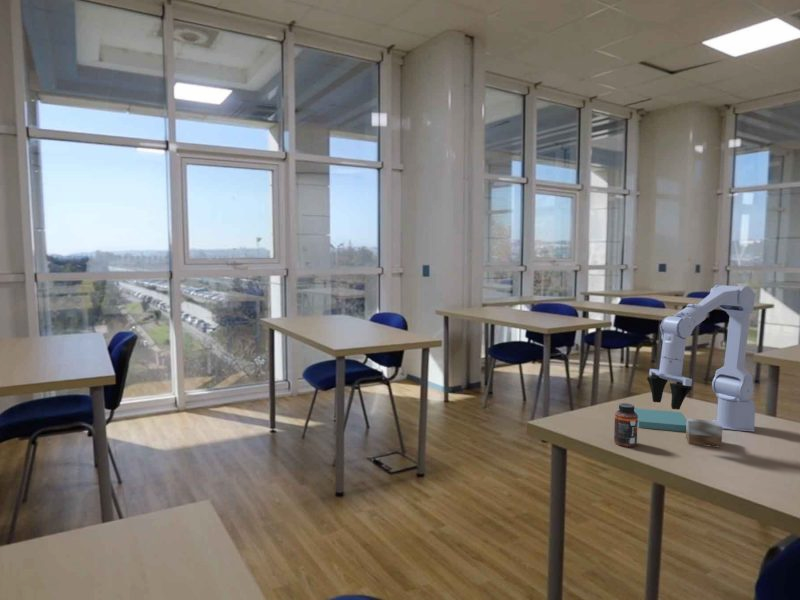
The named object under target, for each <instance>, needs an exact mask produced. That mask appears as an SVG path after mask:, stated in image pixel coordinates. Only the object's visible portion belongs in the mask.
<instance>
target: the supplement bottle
mask: <svg viewBox="0 0 800 600" xmlns="http://www.w3.org/2000/svg"><path fill="white" fill-rule="evenodd" d="M618 409H619V410H617V411H615V412H614V432H613V433H614V435H613V439H614V443H615V444H617V445H618V446H620V447H627V448H633V447H636V446H637V444H638V415H637V414H636V413H635V411H634V410H635V405H634V404H632V403H627V402H625V403H624V402H623V403H619V404H618Z"/></svg>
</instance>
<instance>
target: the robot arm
mask: <svg viewBox="0 0 800 600" xmlns="http://www.w3.org/2000/svg"><path fill="white" fill-rule="evenodd" d="M755 299H756V293H755V292H754V290H753V289H752V287H751V286H748V285H746V286H745V285H744V286H742V285H722V284H716V285H714V287H711V288H710V292H709V294H707V296H705V297H704V298H703V299H702V300H700V302H697V303H688V304H687V305H686V307H684V308H683V309H681V310H680V311H678V312H677V313H675V314H674V315H667V316H666V317H664V318H663V319H662V321H661V323H660V324H659V330H660V333H661V337H660V338H661V339H660V340H661V341H662V346H661V352H660V361H659V369H656V368H649V373H648V375H649V376H647V377H646V379H647V381H648V384H649V387H650V390H651V392H650V393H651V398H652V402H653V403H658V404H659V403H662V402H661V401H662V400H663V399H662V398H663V394H664V390H665V388H666V387H665V386H666V384H667V383H668V381H670V383H669V386H670V391H671V405H670V407H671V410H680V409H681V407H682V404H683V402H684V400H685V398H686V397H687V396H688V394H689V393H690V392H691V391H692V389H693V386H692V383H693V379H692V378H689V377H686V376H684V375H682V372H683V366H684V357H685V351H686V342H687V338H689V337H690V336H691V335H692V334H693V331H694V329H695V328H696V327H697V326H698V325H699V324H701V323H702V322H703V321H705V320H706V319H707V314H708V313H710V312H712V311H713V310H716V309H717V308H719V309H721V310H722V311H724V312H726V314H727V315H728V316H729V319H728V328H727V336H726V345H725V353H724V361H723V362H724V364H723V366H722V367H720V368H718V369H716V370H715V372H714V373H715V374H714V377H713V379H712V382H711V388H712V392H714V393H715V397H717V413H716V414H717V416H716V419H712V421H718V422H719V423H720V424H721V426H722V430H723V429H724V430H729V431H730V430H732V431H742V432H743V431H744V432H755V431H756V430H755V422H756V421H755V420H756V419H755V418H756V417H755V416H756V406H755V402H754V400H752V399H751V398H752V397H753V395H754V390H755V388H754V387H755V386H754V376H753V375H752V373H750V372H749V371H748V370H746V368H745V362H746V353H747V347H748V337H749V336H748V335H749V330H750V328H749V327H750V320H751V314H754V307H755ZM671 382H672V383H671Z"/></svg>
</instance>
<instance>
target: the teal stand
mask: <svg viewBox="0 0 800 600" xmlns="http://www.w3.org/2000/svg"><path fill="white" fill-rule="evenodd" d="M634 411H635V413H636V414H637V415H638V426H637V428H639V427H640V429H649V430H659V429H660V430H661V431H669V432H670V431H672V432H679V433H680V432H681V433H682V432H683V433H686V419H687V418H685V416H684V414H683V413H682V412H681V411H672V410H671V411H669V410H659V409H645V408H635V407H634Z"/></svg>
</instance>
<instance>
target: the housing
mask: <svg viewBox="0 0 800 600" xmlns="http://www.w3.org/2000/svg"><path fill="white" fill-rule="evenodd" d="M685 419H686V432H685V439H687V440H686V441H687V443H688V444H689V445H694V444H697V445H696V446H703V445H710V446H709V447H713V446H719V447H718V448H722V444H723V443H722V442H723V429H722V426H721V424H720V423H719V422H718V421H713V420H709V419H698V418H697V419H696V418H685Z"/></svg>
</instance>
